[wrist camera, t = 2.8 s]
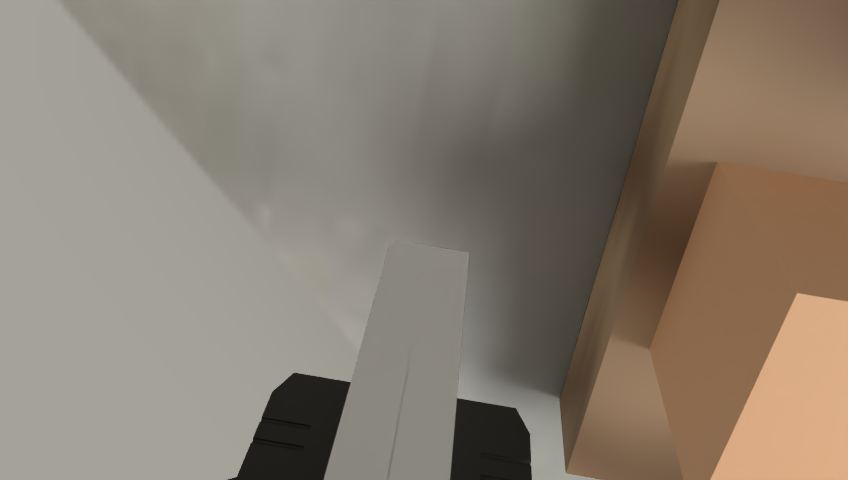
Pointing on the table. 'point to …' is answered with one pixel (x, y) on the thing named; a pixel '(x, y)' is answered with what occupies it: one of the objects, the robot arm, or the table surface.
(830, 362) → the block
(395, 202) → the table surface
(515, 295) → the table surface
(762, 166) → the deck
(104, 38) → the table surface
